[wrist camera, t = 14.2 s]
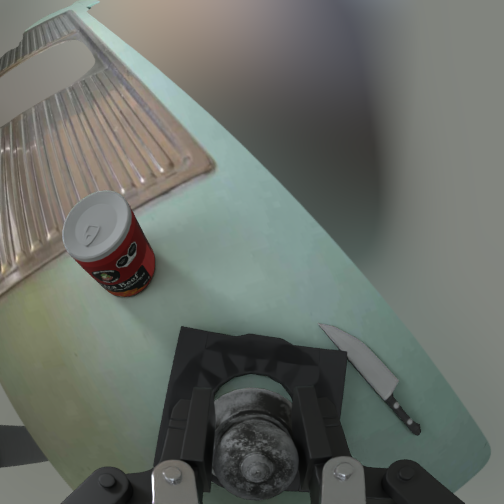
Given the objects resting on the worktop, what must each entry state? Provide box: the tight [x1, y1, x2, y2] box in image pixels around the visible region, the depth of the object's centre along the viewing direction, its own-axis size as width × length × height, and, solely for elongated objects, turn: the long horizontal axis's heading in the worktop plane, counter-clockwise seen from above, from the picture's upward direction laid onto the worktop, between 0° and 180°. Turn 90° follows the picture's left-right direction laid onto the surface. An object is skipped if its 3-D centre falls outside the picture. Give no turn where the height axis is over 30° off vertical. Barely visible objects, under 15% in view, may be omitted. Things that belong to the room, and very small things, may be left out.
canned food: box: [62, 190, 155, 297], centre depth 32 cm, size 8×8×11 cm
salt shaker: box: [212, 388, 299, 500], centre depth 12 cm, size 6×6×12 cm
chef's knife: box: [318, 323, 421, 435], centre depth 31 cm, size 19×1×3 cm
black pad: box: [153, 326, 347, 492], centre depth 29 cm, size 18×17×2 cm
